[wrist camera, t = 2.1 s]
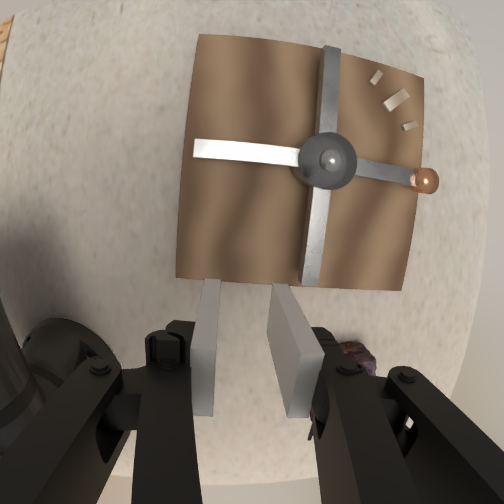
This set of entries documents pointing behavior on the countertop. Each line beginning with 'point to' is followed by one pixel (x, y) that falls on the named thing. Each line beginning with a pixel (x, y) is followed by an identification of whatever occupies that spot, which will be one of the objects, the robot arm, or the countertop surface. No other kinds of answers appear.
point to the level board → (281, 178)
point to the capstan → (320, 164)
